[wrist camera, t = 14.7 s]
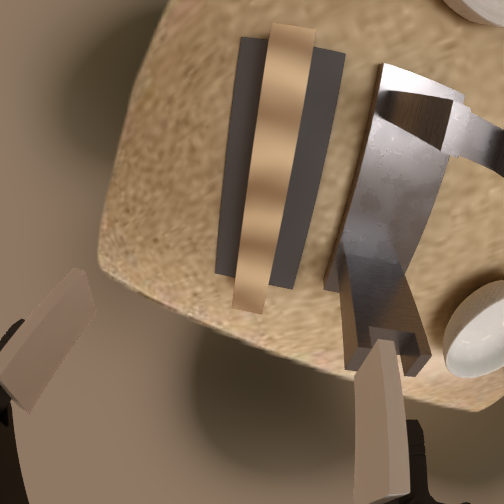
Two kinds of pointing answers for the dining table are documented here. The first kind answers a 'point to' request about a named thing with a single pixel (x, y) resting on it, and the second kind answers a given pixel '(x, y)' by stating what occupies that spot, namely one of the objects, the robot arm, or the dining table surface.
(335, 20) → the dining table surface
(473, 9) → the ramekin
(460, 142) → the stand
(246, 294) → the maple rail
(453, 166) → the dining table surface
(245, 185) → the black rubber mat
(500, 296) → the cereal bowl
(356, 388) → the robot arm
